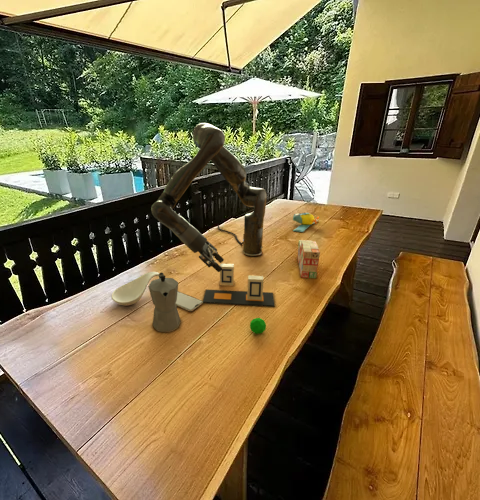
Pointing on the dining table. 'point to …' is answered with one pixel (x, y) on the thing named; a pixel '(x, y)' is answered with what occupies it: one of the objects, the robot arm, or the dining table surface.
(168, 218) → the robot arm
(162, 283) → the coffeepot
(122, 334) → the dining table surface
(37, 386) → the dining table surface
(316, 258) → the stack of blocks
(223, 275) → the cream oblong block
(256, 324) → the polyhedron
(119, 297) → the spoon rest
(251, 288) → the upright beige pillar
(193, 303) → the smartphone
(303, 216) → the toy airplane
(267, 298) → the word mat
